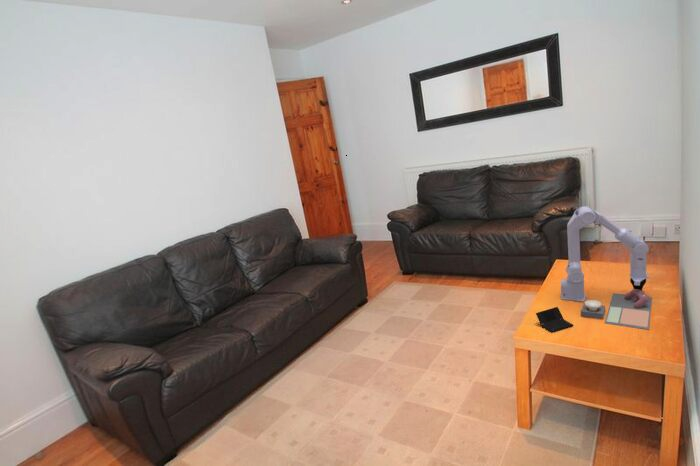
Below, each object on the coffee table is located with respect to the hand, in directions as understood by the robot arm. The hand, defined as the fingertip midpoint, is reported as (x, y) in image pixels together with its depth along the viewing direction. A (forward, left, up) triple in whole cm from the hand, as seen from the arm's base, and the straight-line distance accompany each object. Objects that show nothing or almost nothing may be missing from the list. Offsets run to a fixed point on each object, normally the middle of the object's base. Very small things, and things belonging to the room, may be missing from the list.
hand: (637, 293), depth 172 cm
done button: (-15, -21, 0) cm, 26 cm away
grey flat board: (-2, -13, -2) cm, 14 cm away
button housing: (-14, -21, -2) cm, 26 cm away
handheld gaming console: (-26, -36, -2) cm, 45 cm away
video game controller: (0, -6, -2) cm, 7 cm away
